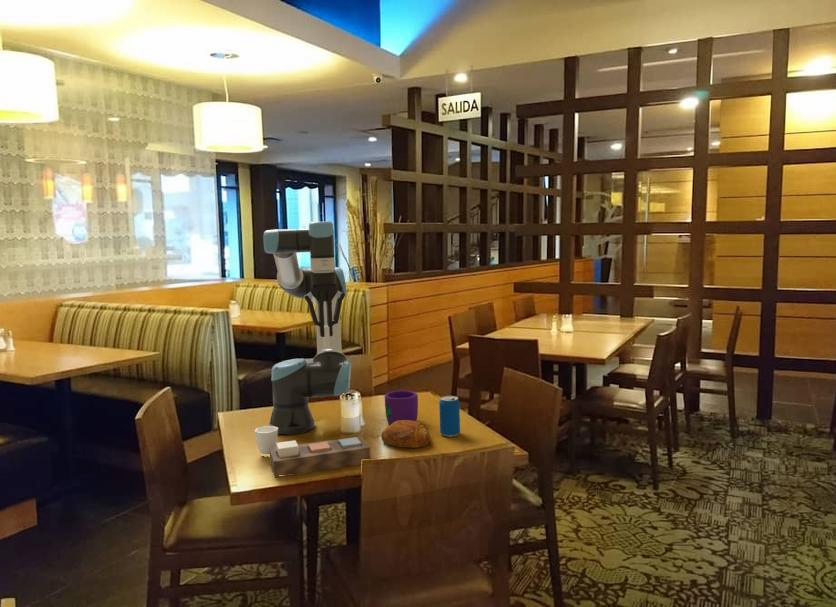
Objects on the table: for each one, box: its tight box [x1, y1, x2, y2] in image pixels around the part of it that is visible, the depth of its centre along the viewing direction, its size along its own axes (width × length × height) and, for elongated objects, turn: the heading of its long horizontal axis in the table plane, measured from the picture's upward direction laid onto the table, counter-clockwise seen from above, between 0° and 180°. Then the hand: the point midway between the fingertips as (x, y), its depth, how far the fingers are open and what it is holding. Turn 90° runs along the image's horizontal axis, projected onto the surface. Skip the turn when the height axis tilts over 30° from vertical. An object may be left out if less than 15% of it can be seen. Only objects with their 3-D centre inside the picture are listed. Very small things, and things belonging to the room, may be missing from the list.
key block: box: [269, 435, 371, 477], centre depth 183 cm, size 27×11×4 cm, turn 109°
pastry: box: [380, 420, 431, 449], centre depth 199 cm, size 14×16×8 cm
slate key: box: [339, 437, 361, 449], centre depth 186 cm, size 5×5×4 cm
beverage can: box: [438, 395, 461, 438], centre depth 204 cm, size 6×6×12 cm
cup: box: [254, 425, 279, 454], centre depth 192 cm, size 7×10×8 cm
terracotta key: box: [307, 441, 330, 453], centre depth 183 cm, size 5×5×4 cm
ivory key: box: [276, 439, 299, 458], centre depth 180 cm, size 5×5×4 cm
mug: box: [384, 389, 419, 425], centre depth 222 cm, size 17×11×10 cm, turn 26°
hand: (326, 346), depth 199 cm, fingers closed
